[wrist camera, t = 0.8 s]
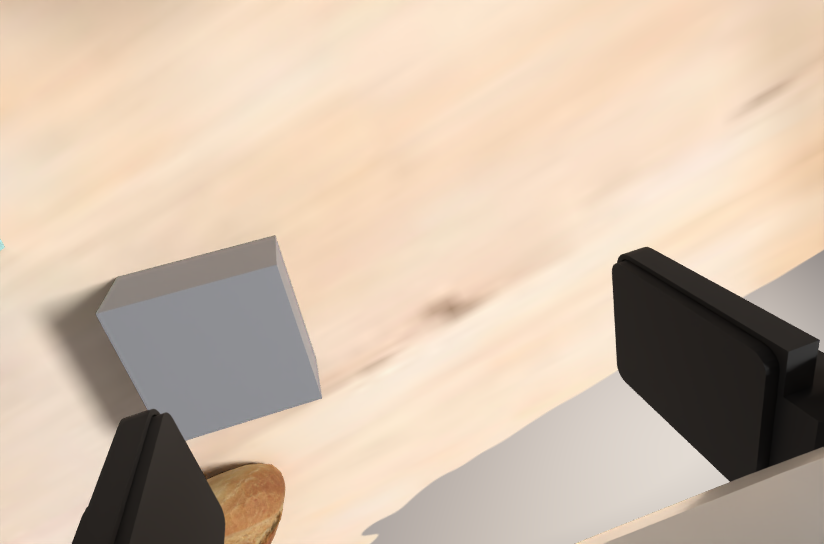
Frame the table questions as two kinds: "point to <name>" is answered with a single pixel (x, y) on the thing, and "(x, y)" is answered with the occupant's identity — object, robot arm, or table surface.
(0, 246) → the teal cube
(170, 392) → the gray block
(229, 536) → the bread roll
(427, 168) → the table surface
